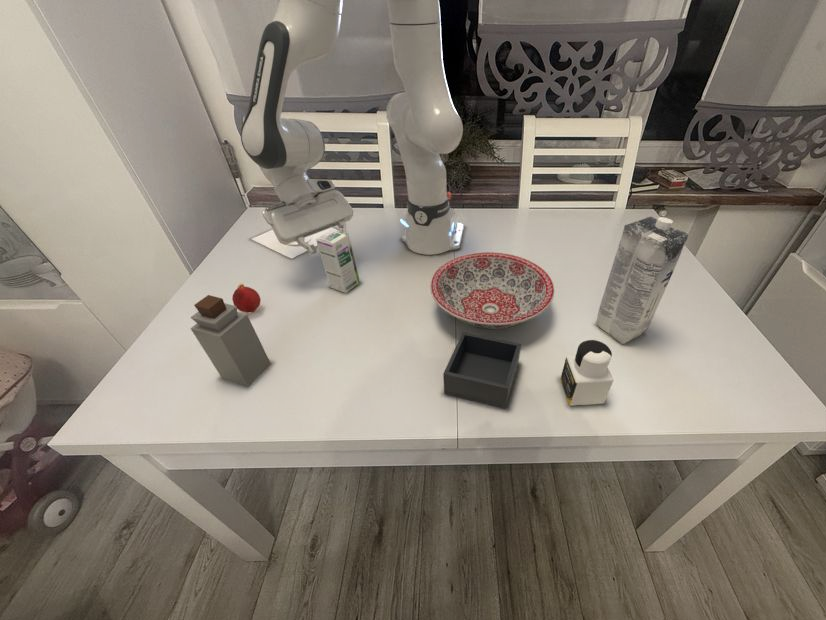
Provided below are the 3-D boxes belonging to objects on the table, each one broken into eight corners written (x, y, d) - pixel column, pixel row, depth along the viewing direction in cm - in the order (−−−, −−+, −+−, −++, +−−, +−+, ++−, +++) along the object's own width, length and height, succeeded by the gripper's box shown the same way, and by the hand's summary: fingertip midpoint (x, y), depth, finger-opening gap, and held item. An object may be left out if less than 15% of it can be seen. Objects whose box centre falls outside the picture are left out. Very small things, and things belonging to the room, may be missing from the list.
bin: (462, 351, 86) (462, 331, 82) (518, 363, 84) (521, 343, 80) (444, 394, 78) (443, 373, 74) (505, 408, 75) (508, 388, 71)
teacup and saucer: (278, 240, 121) (273, 228, 118) (299, 230, 126) (295, 218, 123) (296, 249, 118) (292, 236, 115) (317, 238, 123) (313, 226, 120)
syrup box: (346, 293, 102) (333, 243, 92) (329, 287, 104) (314, 237, 94) (360, 283, 105) (349, 233, 95) (343, 277, 107) (331, 227, 97)
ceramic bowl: (534, 364, 84) (539, 337, 78) (411, 332, 91) (408, 305, 85) (559, 290, 103) (564, 264, 98) (457, 269, 111) (456, 243, 105)
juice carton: (623, 349, 87) (667, 239, 69) (589, 323, 94) (621, 216, 75) (649, 335, 91) (698, 227, 72) (615, 311, 97) (651, 206, 79)
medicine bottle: (559, 379, 81) (570, 336, 73) (593, 377, 81) (608, 334, 73) (569, 406, 76) (582, 363, 67) (604, 404, 76) (622, 361, 68)
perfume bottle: (270, 363, 83) (237, 295, 71) (248, 386, 79) (208, 317, 66) (245, 356, 85) (208, 287, 72) (221, 377, 80) (177, 308, 68)
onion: (256, 320, 93) (243, 293, 88) (234, 317, 94) (220, 290, 89) (269, 306, 98) (258, 279, 92) (248, 303, 98) (236, 276, 93)
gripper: (259, 202, 88) (294, 256, 90) (337, 178, 99) (367, 227, 101) (257, 215, 93) (290, 266, 95) (331, 191, 104) (360, 237, 106)
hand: (330, 246), depth 98 cm, fingers open, 8 cm apart
